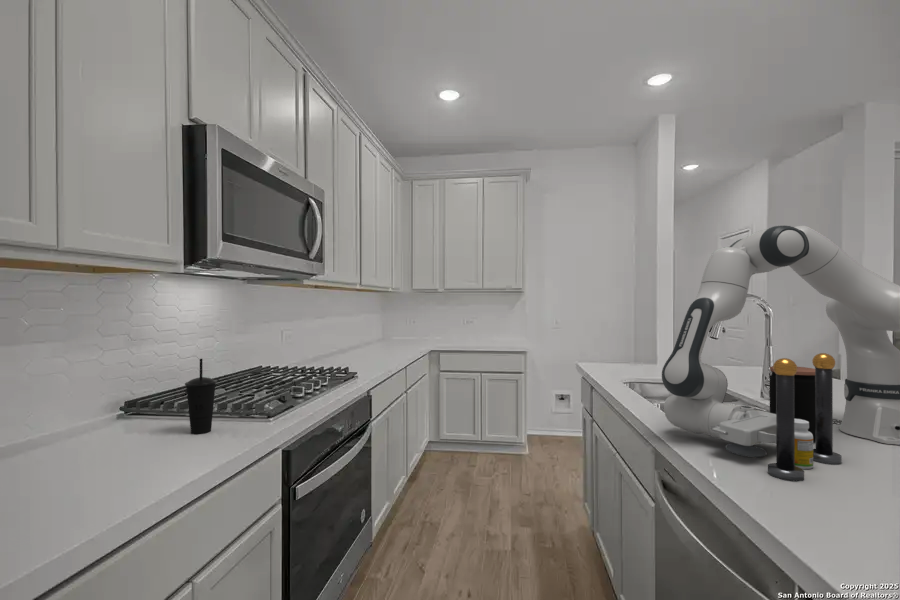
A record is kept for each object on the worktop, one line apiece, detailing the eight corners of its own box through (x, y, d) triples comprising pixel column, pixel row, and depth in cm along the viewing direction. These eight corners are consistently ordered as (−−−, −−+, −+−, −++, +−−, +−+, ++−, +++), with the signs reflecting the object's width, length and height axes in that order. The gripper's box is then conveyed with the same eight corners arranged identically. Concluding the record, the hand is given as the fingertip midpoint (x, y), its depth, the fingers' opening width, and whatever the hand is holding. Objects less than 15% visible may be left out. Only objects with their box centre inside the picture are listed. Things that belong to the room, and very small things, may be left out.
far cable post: (837, 458, 103) (837, 352, 103) (844, 466, 98) (844, 355, 98) (804, 453, 106) (804, 351, 106) (809, 461, 101) (809, 353, 101)
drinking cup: (183, 430, 125) (184, 358, 125) (214, 426, 130) (215, 356, 130) (185, 437, 119) (185, 361, 119) (218, 432, 123) (218, 359, 123)
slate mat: (764, 449, 109) (764, 446, 109) (768, 459, 102) (768, 456, 102) (725, 444, 113) (725, 441, 113) (726, 453, 106) (726, 451, 106)
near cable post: (801, 473, 94) (800, 357, 94) (806, 483, 89) (806, 360, 89) (765, 468, 97) (765, 355, 97) (769, 477, 92) (769, 358, 92)
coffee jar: (812, 433, 122) (811, 366, 122) (827, 445, 112) (827, 372, 112) (764, 429, 126) (764, 364, 126) (776, 440, 116) (775, 370, 116)
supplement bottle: (777, 460, 102) (777, 416, 102) (804, 461, 101) (804, 418, 101) (790, 468, 97) (790, 423, 97) (819, 470, 96) (818, 424, 96)
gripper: (705, 415, 106) (772, 430, 94) (751, 405, 116) (816, 416, 104) (705, 442, 106) (772, 460, 94) (751, 429, 116) (816, 444, 104)
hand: (796, 437), depth 99 cm, fingers open, 8 cm apart
